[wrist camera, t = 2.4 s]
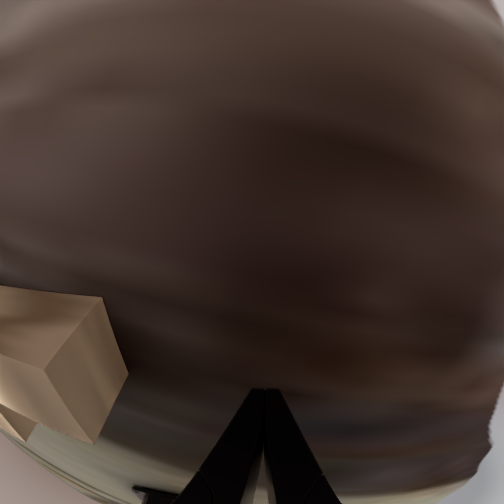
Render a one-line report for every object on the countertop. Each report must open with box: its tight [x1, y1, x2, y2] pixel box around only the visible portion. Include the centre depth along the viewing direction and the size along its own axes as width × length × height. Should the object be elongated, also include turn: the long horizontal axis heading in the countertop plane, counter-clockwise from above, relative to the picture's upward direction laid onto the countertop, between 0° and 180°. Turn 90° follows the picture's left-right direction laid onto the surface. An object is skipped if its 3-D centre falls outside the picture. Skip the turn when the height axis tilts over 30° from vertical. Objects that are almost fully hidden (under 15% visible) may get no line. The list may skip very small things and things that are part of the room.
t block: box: [0, 285, 129, 445], centre depth 9 cm, size 11×12×4 cm
